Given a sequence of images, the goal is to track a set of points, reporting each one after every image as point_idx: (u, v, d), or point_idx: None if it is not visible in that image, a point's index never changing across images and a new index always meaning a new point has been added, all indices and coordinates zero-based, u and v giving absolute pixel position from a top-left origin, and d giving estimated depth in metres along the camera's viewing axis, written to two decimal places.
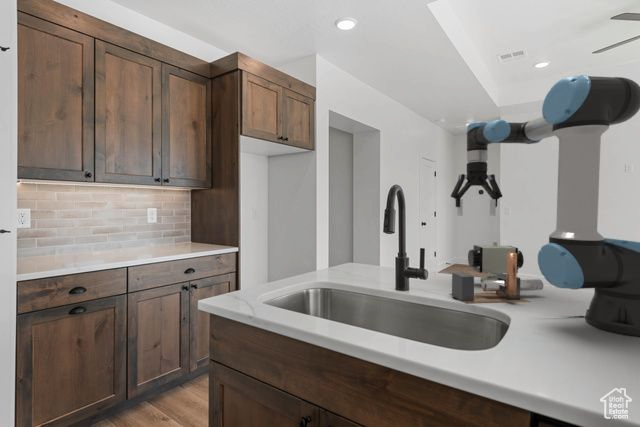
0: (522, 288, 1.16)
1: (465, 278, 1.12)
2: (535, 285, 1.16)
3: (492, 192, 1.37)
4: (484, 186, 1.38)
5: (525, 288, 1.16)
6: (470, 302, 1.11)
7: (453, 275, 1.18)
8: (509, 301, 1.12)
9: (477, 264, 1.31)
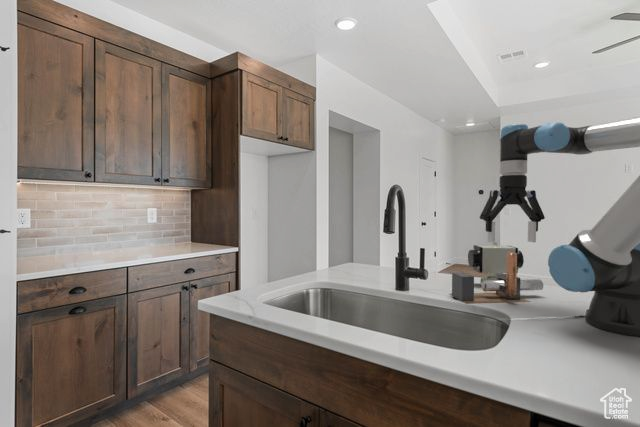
0: (522, 288, 1.16)
1: (465, 278, 1.12)
2: (535, 285, 1.16)
3: (532, 213, 1.09)
4: (522, 205, 1.10)
5: (525, 288, 1.16)
6: (470, 302, 1.11)
7: (453, 275, 1.18)
8: (509, 301, 1.12)
9: (477, 264, 1.31)
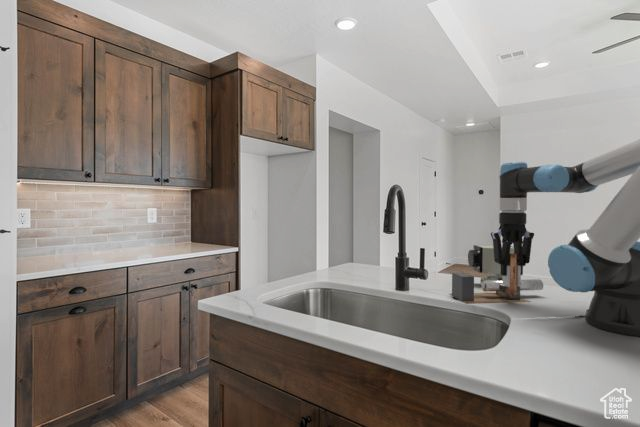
0: (522, 288, 1.16)
1: (465, 278, 1.12)
2: (535, 285, 1.16)
3: (520, 254, 1.09)
4: (516, 243, 1.10)
5: (525, 288, 1.16)
6: (470, 302, 1.11)
7: (453, 275, 1.18)
8: (509, 301, 1.12)
9: (477, 264, 1.31)
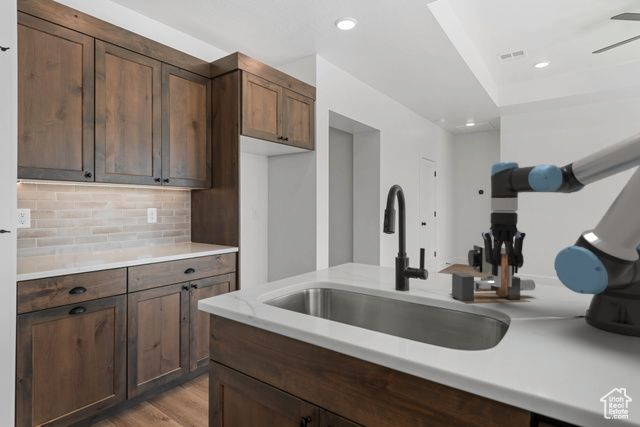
0: None
1: (465, 278, 1.12)
2: (527, 285, 1.16)
3: (512, 255, 1.08)
4: (507, 244, 1.09)
5: None
6: (470, 302, 1.11)
7: (453, 275, 1.18)
8: (509, 301, 1.12)
9: (477, 264, 1.31)
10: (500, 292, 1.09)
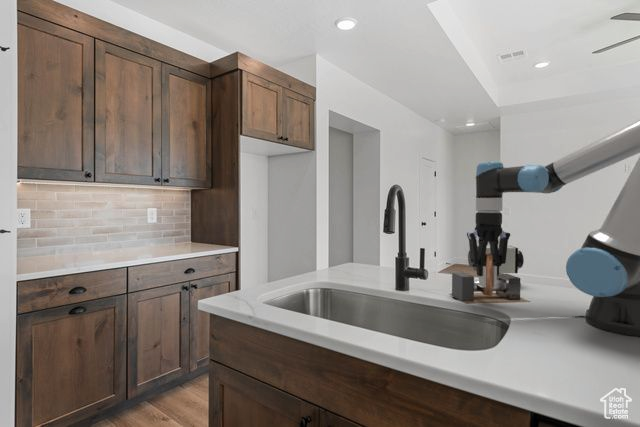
0: (500, 289, 1.15)
1: (465, 278, 1.12)
2: None
3: (496, 255, 1.08)
4: (492, 244, 1.09)
5: (503, 289, 1.16)
6: (470, 302, 1.11)
7: (453, 275, 1.18)
8: (509, 301, 1.12)
9: None
10: (485, 292, 1.08)
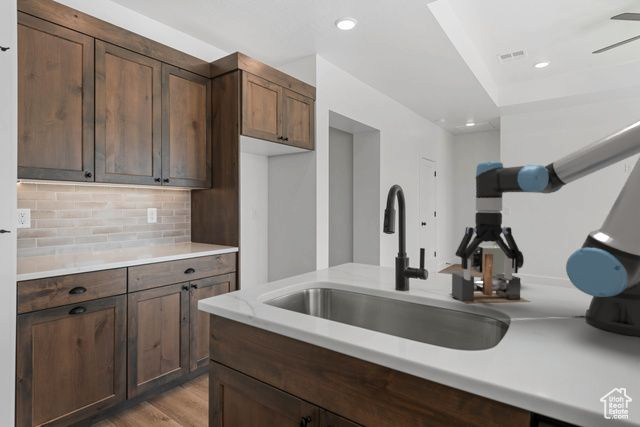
0: (499, 289, 1.15)
1: None
2: None
3: (507, 250, 1.08)
4: (498, 242, 1.09)
5: (503, 289, 1.16)
6: (470, 302, 1.11)
7: (453, 275, 1.18)
8: (509, 301, 1.12)
9: (477, 264, 1.31)
10: (485, 292, 1.08)
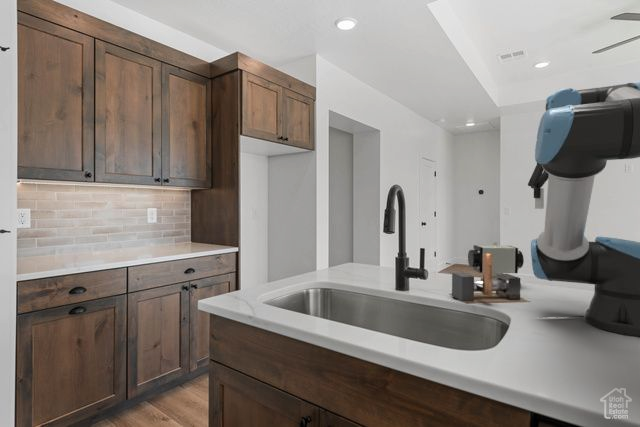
0: (499, 289, 1.15)
1: (465, 278, 1.12)
2: None
3: None
4: None
5: (503, 289, 1.16)
6: (470, 302, 1.11)
7: (453, 275, 1.18)
8: (509, 301, 1.12)
9: (477, 264, 1.31)
10: (485, 292, 1.08)
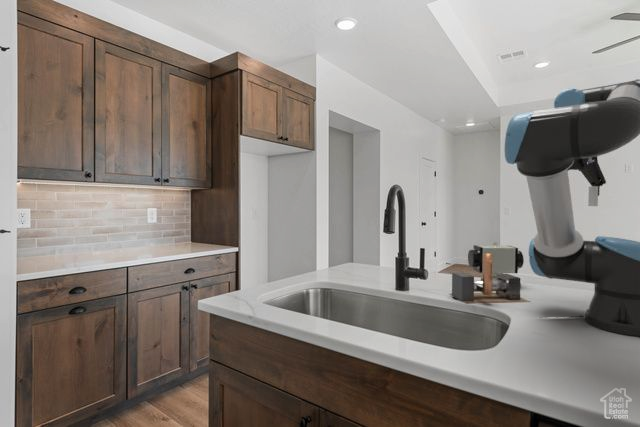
0: (499, 289, 1.15)
1: (465, 278, 1.12)
2: None
3: (593, 177, 1.12)
4: (584, 170, 1.13)
5: (503, 289, 1.16)
6: (470, 302, 1.11)
7: (453, 275, 1.18)
8: (509, 301, 1.12)
9: (477, 264, 1.31)
10: (485, 292, 1.08)
